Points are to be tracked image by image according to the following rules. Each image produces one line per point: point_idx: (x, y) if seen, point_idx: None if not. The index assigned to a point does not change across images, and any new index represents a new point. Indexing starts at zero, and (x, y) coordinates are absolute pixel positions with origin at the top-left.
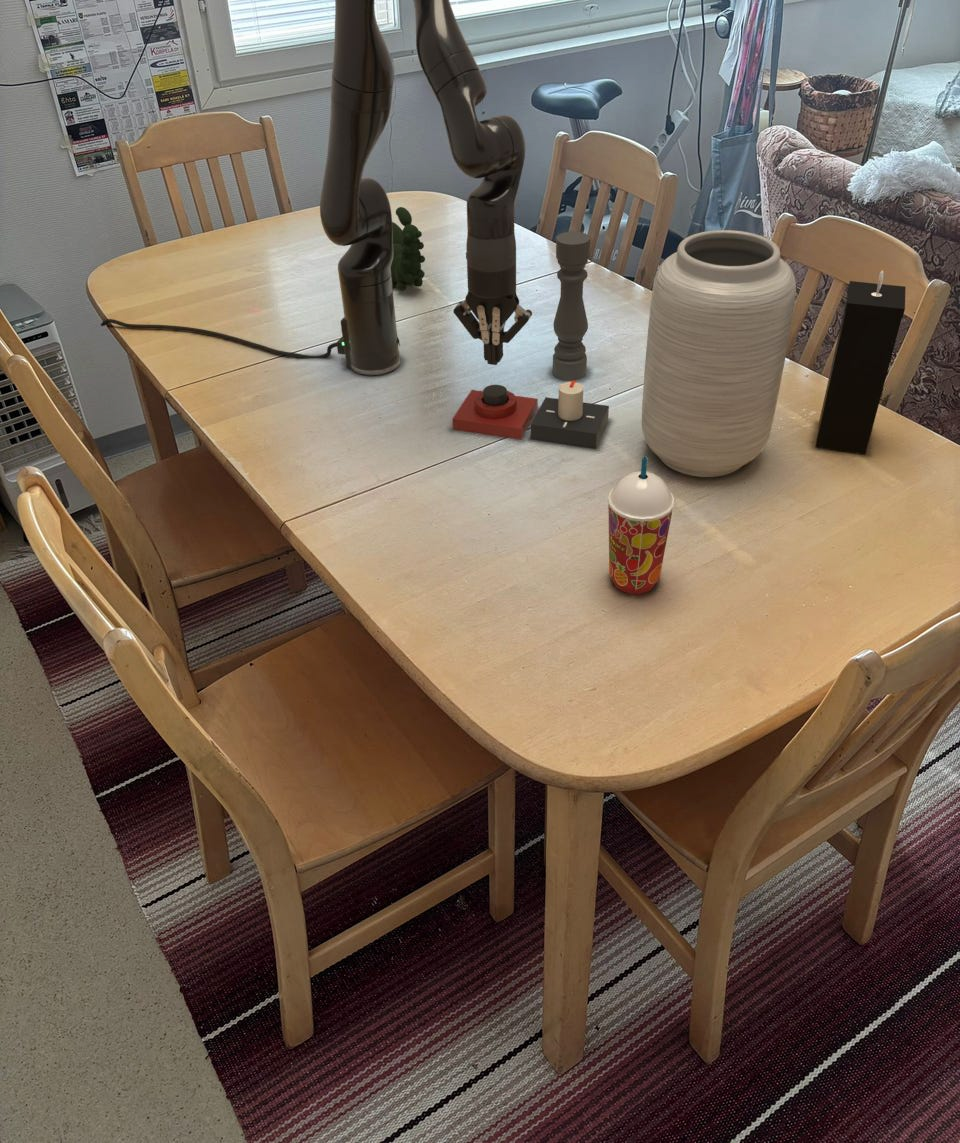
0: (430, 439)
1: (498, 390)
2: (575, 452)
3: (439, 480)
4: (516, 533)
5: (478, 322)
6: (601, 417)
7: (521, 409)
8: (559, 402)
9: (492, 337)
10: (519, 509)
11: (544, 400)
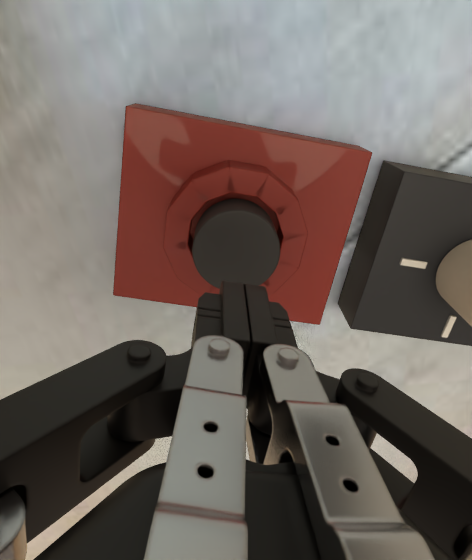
0: (75, 325)
1: (249, 253)
2: (445, 342)
3: (148, 456)
4: None
5: (120, 397)
6: None
7: (317, 226)
8: (462, 314)
9: (249, 452)
10: None
11: (399, 194)
